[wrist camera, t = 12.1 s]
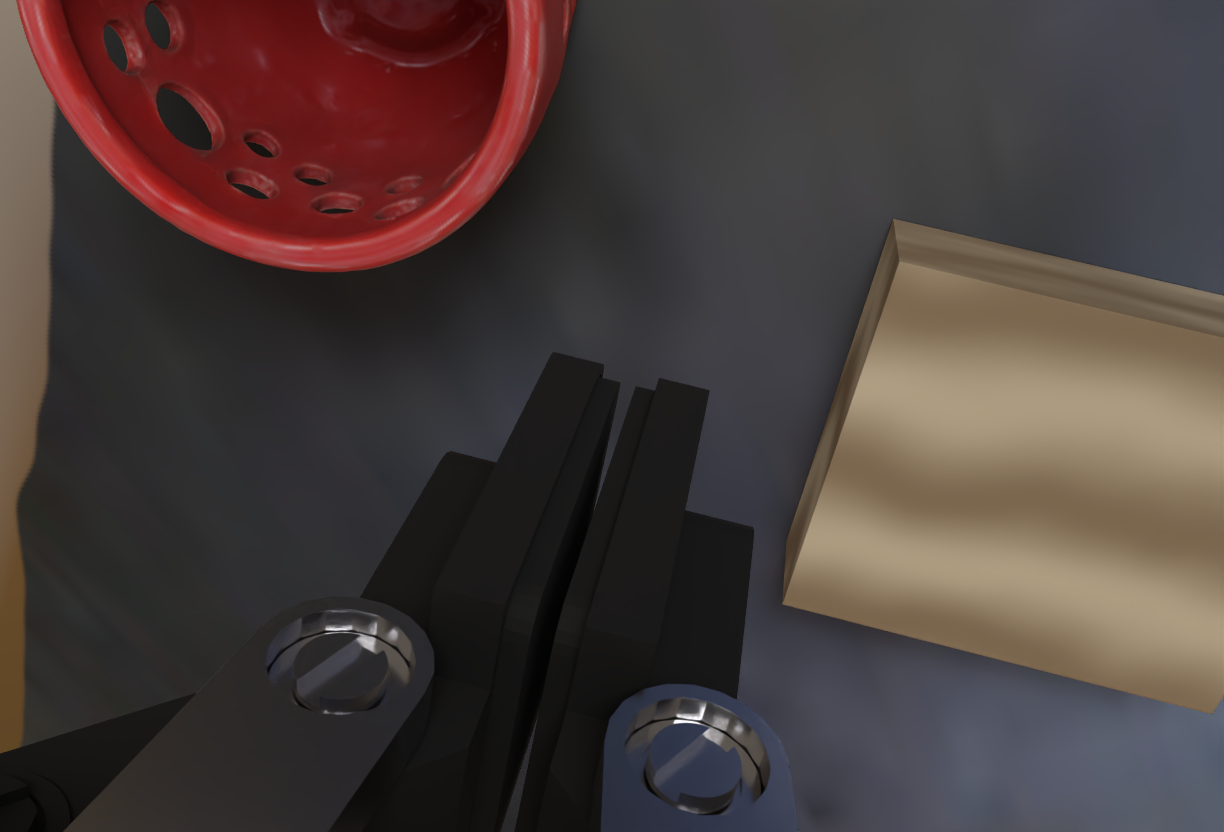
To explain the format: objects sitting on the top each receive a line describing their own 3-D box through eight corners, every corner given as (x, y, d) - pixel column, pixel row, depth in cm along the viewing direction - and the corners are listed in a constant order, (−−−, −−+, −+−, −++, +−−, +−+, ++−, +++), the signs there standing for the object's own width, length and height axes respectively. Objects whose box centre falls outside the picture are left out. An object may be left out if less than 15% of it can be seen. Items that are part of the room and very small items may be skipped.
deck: (893, 218, 37) (899, 261, 34) (1369, 329, 36) (1426, 385, 33) (786, 541, 44) (782, 604, 41) (1181, 641, 43) (1211, 714, 40)
